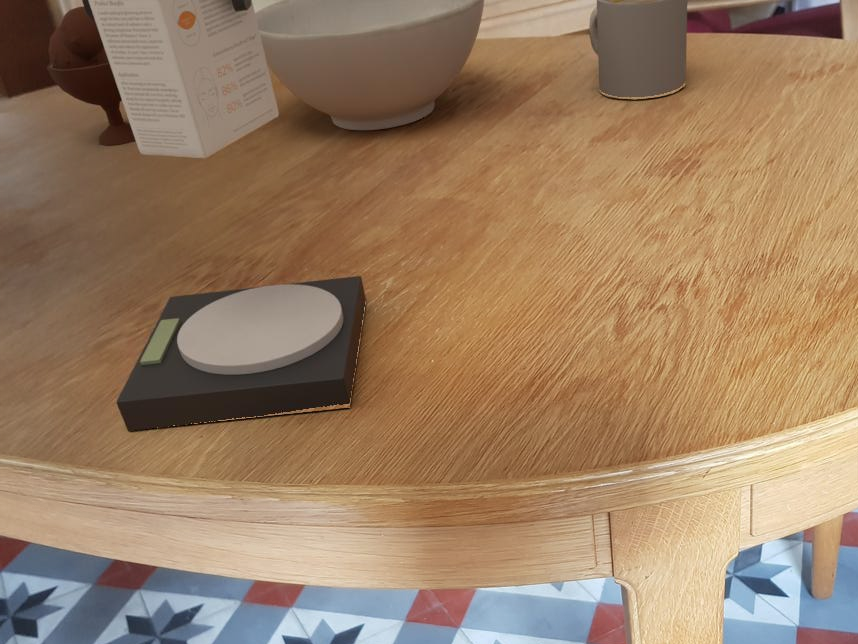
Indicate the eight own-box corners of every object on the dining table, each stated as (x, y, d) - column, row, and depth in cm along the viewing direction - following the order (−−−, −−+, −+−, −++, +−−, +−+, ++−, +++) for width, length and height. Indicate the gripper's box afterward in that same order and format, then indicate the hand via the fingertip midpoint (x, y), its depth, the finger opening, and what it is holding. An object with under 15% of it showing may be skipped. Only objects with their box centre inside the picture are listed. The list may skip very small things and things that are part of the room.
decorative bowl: (264, 104, 122) (240, 2, 115) (465, 67, 126) (453, -34, 118) (282, 170, 101) (253, 50, 94) (522, 124, 105) (512, 4, 97)
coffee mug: (702, 87, 108) (705, -10, 102) (626, 106, 106) (625, 8, 100) (641, 64, 118) (641, -25, 112) (570, 81, 116) (566, -9, 110)
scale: (127, 432, 63) (111, 391, 61) (179, 323, 75) (166, 287, 73) (350, 408, 62) (341, 367, 60) (366, 303, 74) (359, 265, 72)
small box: (217, 114, 65) (169, -59, 59) (282, 117, 63) (240, -63, 56) (136, 155, 60) (74, -31, 53) (205, 160, 57) (148, -34, 51)
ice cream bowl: (183, 123, 119) (144, -8, 110) (124, 155, 111) (77, 17, 102) (119, 121, 123) (77, -5, 114) (57, 151, 115) (7, 18, 106)
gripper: (233, -355, 49) (302, -10, 59) (-33, -318, 50) (80, 18, 60) (204, -370, 44) (286, 16, 54) (-97, -327, 44) (40, 47, 54)
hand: (177, 16), depth 57 cm, fingers closed on small box, 7 cm apart
